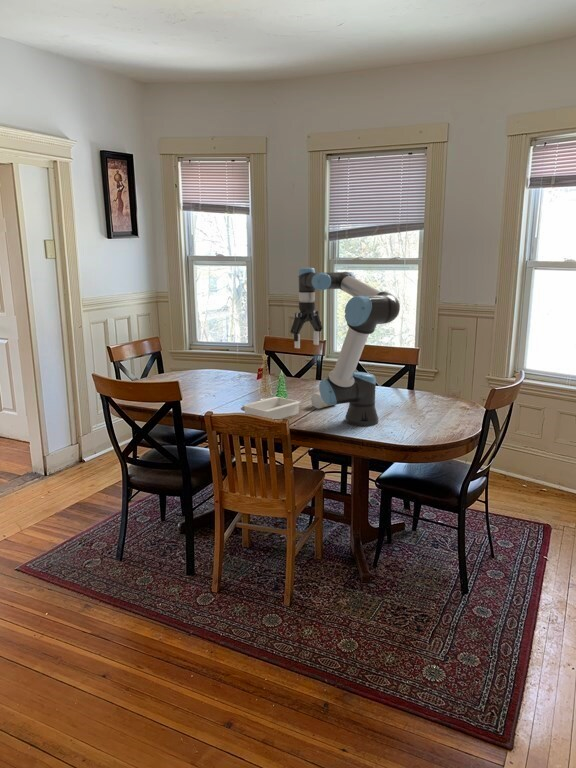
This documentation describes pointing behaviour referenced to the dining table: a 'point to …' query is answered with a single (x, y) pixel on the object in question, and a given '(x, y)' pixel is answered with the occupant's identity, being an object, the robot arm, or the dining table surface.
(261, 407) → the white rectangular tray
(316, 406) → the coffee cup
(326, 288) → the robot arm
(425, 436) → the dining table surface
